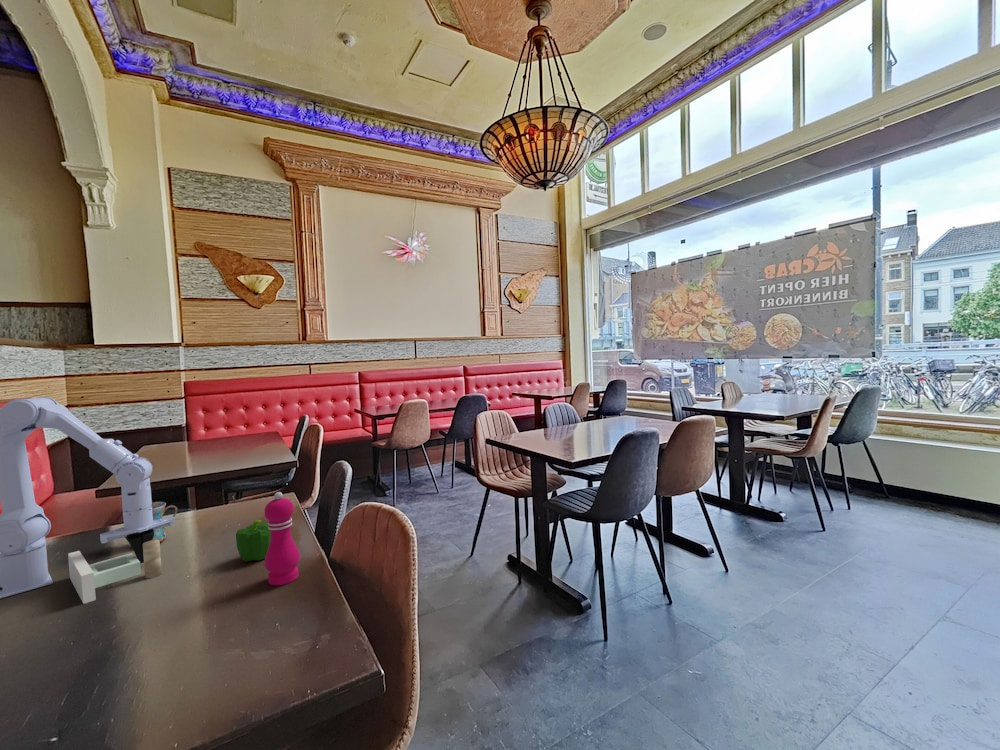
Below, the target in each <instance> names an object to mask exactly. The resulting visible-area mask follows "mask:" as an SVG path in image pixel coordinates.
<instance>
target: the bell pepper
mask: <svg viewBox="0 0 1000 750" xmlns="http://www.w3.org/2000/svg"><path fill="white" fill-rule="evenodd" d="M235 540H236V542H235V543H236V548H237V552H238V553H239V554H238V555H239V557H240V559H241V560H242V561H243V562H245V563H248V562H252V561H261V560H265V557H266V554H267V551H268V548H269V545H270V541H271V532H270V530H269V529H268V522H263V521H262V520H261V519H256V520H254V521H253V522H252V524H249V525H248V526H247V527H245V528H240V529H238V530H237V531H236V533H235Z"/></svg>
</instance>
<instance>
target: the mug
mask: <svg viewBox="0 0 1000 750" xmlns="http://www.w3.org/2000/svg"><path fill="white" fill-rule="evenodd" d="M166 505H167V503H166V502H164V501H155V502H154V501H152V513H153V520H157V519H163V516H164V515H165V512H166V511H167V510H168V509H169V508H174V509H175V511H174V513H173V515H172V517H174V518H175V517H176V515H177V512H178V507H177V506H175V505H169V506H166ZM164 530H167V527H163V528H159V529H155V530H153V532H154V537H153V539H152V540H159V541H160V543H161V542H164V541H165V540H167V534H166V533H165V531H164ZM128 544H129V543H128ZM129 547H131V545H130V544H129Z"/></svg>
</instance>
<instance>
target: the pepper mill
mask: <svg viewBox="0 0 1000 750" xmlns="http://www.w3.org/2000/svg"><path fill="white" fill-rule="evenodd" d="M283 496H284V495H283V493H282V492H281V491H277V492H276V493H274V495H273V499H272V500H271V501H269V502H268V503H267V504H266V506H265V508H264V518H266V519H267V521H268V522H267V524H268V529H269V530H270V532H271V541H270V545H269V548H268V551H267V554H266V557H265V558H264V567H265V570H267V571H268V572H269V573H268V574H267V581H268V584H269V585H271V586H283V585H288V584H290V583H292V582H294V581H296V580H297V579H298V578H299V576H300V575H299V568H298V566H297V565H298V564H299V562H300V560H301V559H300V558H301V557H300V552H299V549H298V547H297V545H296V543H295V541H294V539H293V536H292V532H291V529H292V525H293V522H292V521H293V518H292V517H291V516H292V515H293V514H294V511H295V506H294V504H293V502H292V501H291V500H290V499H288V498H284V497H283Z"/></svg>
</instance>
